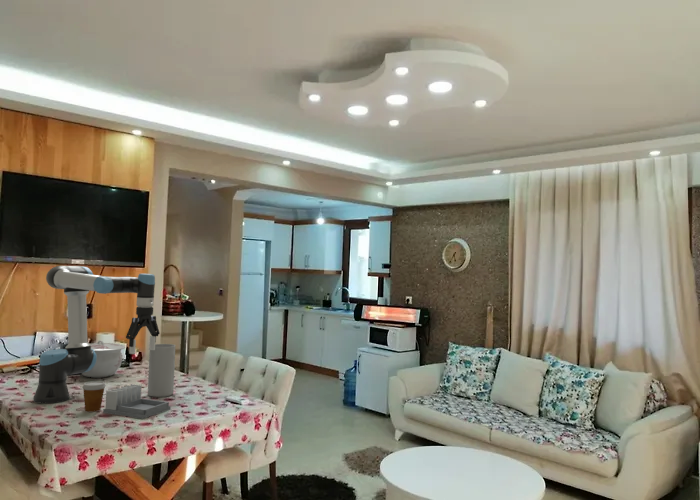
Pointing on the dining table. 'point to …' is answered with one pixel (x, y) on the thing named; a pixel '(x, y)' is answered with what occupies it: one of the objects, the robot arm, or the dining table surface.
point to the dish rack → (132, 403)
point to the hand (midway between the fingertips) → (142, 351)
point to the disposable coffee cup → (93, 395)
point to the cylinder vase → (161, 370)
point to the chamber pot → (105, 359)
